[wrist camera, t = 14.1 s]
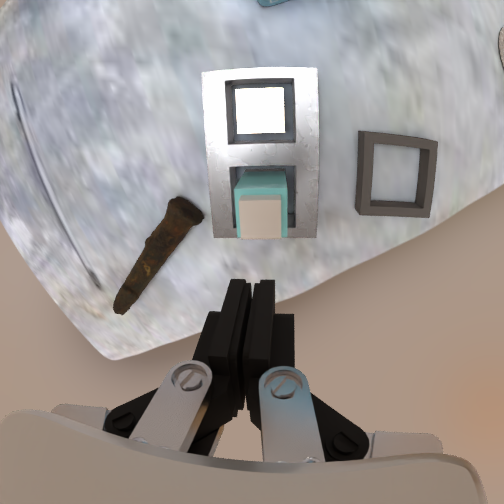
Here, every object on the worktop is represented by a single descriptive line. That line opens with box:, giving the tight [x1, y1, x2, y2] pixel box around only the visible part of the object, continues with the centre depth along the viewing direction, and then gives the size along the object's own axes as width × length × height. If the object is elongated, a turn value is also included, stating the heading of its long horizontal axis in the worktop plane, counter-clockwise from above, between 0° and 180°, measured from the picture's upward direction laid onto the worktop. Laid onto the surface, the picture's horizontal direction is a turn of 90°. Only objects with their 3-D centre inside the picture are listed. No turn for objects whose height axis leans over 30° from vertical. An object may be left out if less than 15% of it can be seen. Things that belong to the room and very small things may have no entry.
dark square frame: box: [355, 131, 438, 218], centre depth 27 cm, size 8×8×2 cm
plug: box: [234, 168, 287, 239], centre depth 25 cm, size 4×4×10 cm
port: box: [202, 67, 319, 238], centre depth 26 cm, size 10×16×5 cm, turn 3°
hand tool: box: [113, 197, 204, 315], centre depth 33 cm, size 19×4×5 cm, turn 138°
